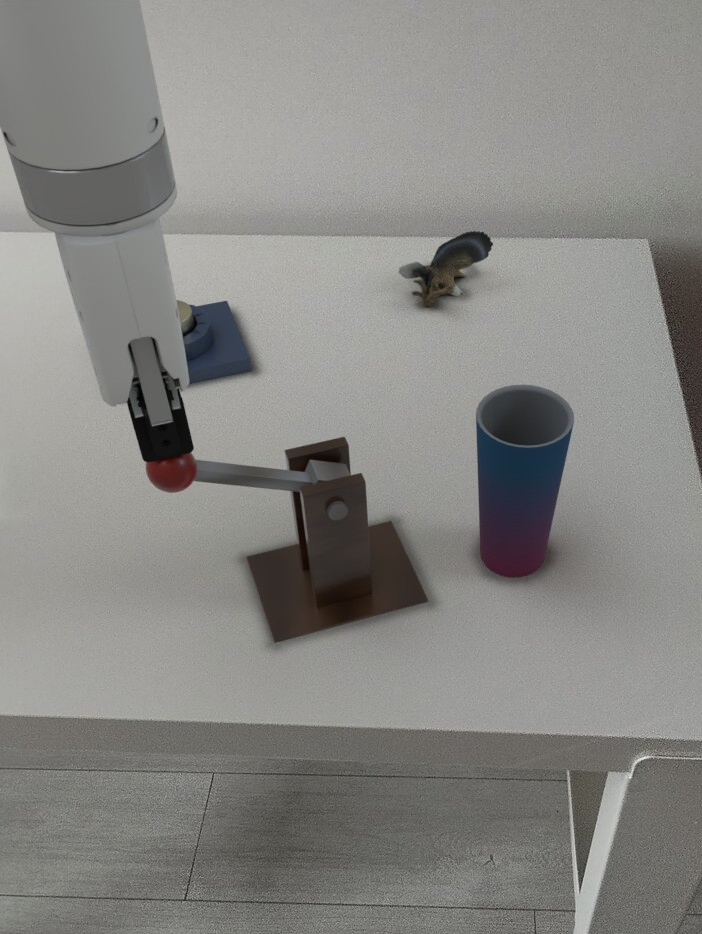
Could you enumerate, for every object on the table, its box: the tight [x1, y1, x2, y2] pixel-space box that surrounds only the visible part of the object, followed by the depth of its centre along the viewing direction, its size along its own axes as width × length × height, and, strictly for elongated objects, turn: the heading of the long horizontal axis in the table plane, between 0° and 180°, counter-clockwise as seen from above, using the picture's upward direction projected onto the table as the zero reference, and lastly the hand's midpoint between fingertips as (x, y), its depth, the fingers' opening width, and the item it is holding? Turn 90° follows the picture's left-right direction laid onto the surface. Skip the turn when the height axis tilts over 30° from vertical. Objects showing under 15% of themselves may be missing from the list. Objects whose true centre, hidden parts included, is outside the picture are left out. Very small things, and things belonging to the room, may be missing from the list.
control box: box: [137, 300, 253, 392], centre depth 98 cm, size 12×10×4 cm
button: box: [176, 299, 195, 337], centre depth 97 cm, size 4×4×2 cm
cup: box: [475, 384, 575, 578], centre depth 78 cm, size 7×7×15 cm
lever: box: [145, 452, 350, 494], centre depth 70 cm, size 14×3×3 cm, turn 110°
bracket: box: [245, 436, 429, 644], centre depth 77 cm, size 12×9×13 cm
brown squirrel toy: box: [398, 230, 494, 308], centre depth 106 cm, size 8×7×9 cm
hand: (167, 449), depth 66 cm, fingers closed
